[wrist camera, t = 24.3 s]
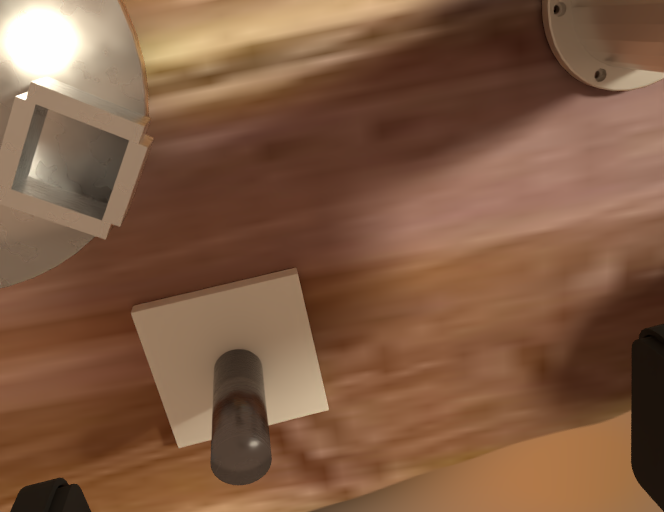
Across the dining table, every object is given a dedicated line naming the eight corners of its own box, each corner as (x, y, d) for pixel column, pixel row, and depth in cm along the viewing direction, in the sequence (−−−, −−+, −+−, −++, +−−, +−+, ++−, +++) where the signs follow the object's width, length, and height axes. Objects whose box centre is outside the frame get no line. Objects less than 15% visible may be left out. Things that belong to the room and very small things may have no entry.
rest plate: (296, 267, 45) (298, 273, 43) (326, 401, 49) (328, 409, 48) (133, 305, 44) (130, 313, 43) (179, 438, 48) (178, 448, 47)
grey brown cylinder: (255, 343, 45) (262, 429, 36) (267, 382, 46) (278, 475, 37) (207, 356, 45) (202, 446, 35) (221, 395, 46) (220, 492, 37)
